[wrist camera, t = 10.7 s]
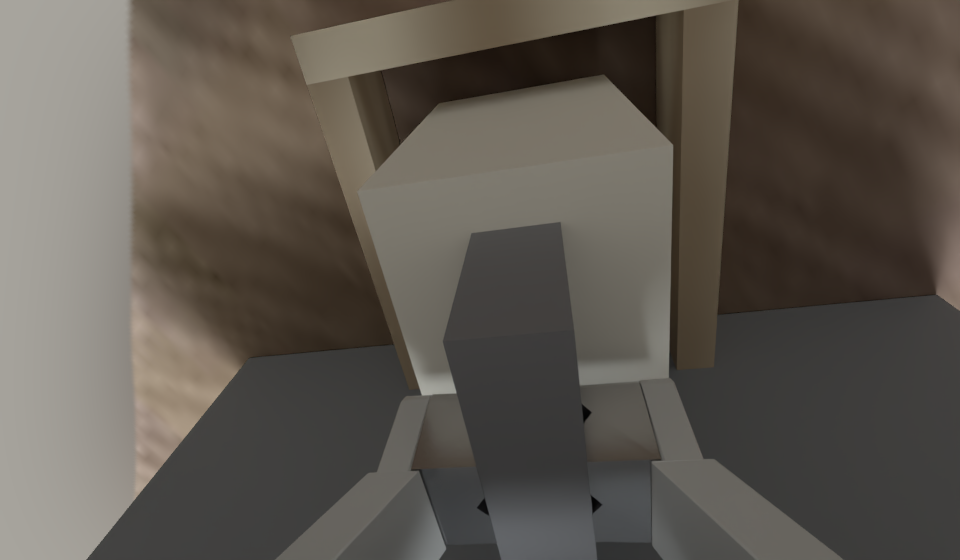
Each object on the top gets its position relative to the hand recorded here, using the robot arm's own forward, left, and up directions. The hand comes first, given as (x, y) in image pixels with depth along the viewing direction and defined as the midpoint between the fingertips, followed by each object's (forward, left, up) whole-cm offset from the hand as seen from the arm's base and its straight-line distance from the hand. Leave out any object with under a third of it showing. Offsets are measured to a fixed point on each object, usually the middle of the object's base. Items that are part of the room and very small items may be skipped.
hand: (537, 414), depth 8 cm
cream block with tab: (0, 0, -9) cm, 9 cm away
